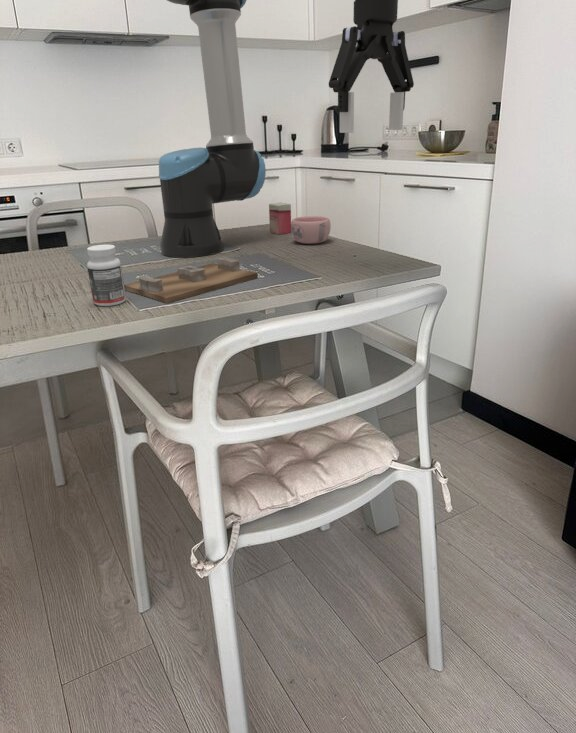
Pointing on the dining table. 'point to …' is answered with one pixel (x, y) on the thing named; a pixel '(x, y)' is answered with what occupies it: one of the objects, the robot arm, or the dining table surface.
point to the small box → (280, 218)
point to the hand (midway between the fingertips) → (371, 131)
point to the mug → (310, 229)
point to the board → (191, 281)
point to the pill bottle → (105, 276)
